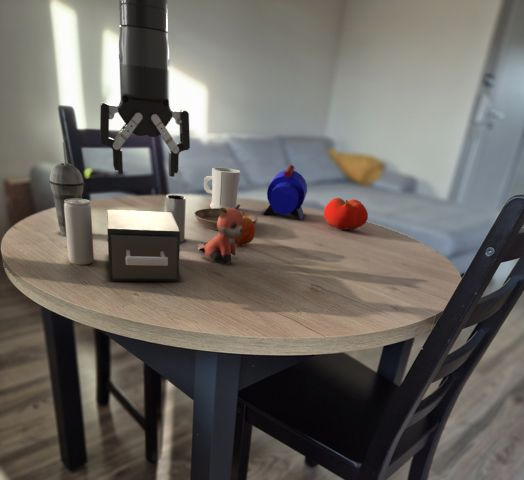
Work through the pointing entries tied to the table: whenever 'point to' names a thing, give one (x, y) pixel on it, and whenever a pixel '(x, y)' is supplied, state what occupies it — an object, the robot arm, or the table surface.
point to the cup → (223, 187)
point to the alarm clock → (287, 193)
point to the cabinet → (141, 231)
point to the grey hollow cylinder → (177, 211)
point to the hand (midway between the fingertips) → (146, 174)
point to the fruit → (246, 232)
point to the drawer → (144, 256)
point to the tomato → (345, 214)
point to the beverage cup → (65, 187)
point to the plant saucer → (215, 217)
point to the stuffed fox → (224, 236)
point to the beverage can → (79, 231)
